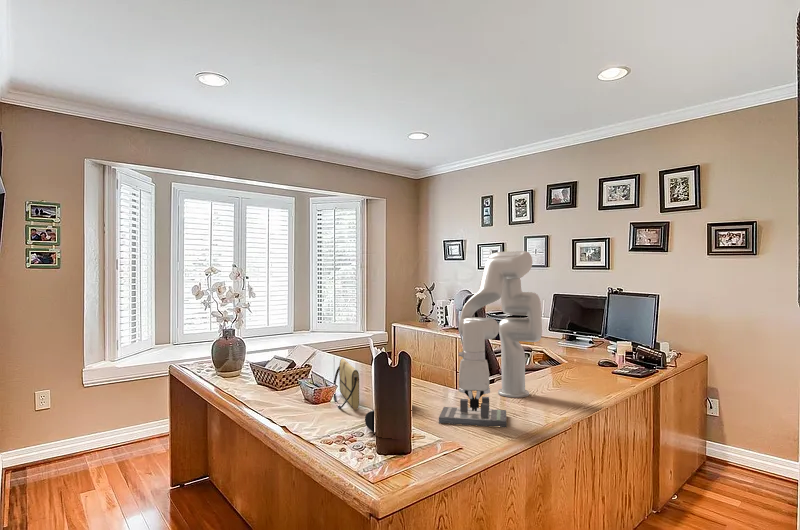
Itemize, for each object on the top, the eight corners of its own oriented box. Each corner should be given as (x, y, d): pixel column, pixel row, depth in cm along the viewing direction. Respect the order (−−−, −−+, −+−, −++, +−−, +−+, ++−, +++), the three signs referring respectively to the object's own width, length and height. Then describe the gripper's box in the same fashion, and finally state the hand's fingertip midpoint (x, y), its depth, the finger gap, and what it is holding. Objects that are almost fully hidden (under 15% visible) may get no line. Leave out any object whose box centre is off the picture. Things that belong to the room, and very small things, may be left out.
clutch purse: (329, 394, 196) (329, 358, 197) (345, 393, 198) (345, 357, 199) (342, 413, 168) (341, 371, 168) (360, 411, 170) (360, 370, 170)
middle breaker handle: (460, 410, 161) (460, 398, 161) (467, 410, 161) (467, 399, 161) (460, 412, 159) (460, 400, 159) (467, 412, 159) (467, 400, 159)
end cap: (382, 423, 156) (382, 402, 157) (400, 426, 153) (400, 405, 153) (364, 431, 148) (364, 410, 148) (383, 435, 144) (382, 413, 144)
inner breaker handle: (482, 407, 164) (482, 396, 164) (489, 408, 164) (489, 396, 164) (482, 409, 162) (481, 398, 162) (489, 410, 161) (488, 398, 162)
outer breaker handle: (481, 415, 155) (481, 403, 155) (488, 415, 155) (488, 403, 155) (480, 417, 153) (480, 404, 153) (488, 417, 153) (488, 405, 153)
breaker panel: (443, 412, 168) (443, 406, 168) (506, 415, 163) (506, 409, 163) (438, 423, 155) (438, 416, 155) (506, 427, 150) (506, 420, 151)
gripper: (450, 357, 158) (451, 411, 157) (496, 358, 154) (496, 414, 154) (453, 353, 165) (453, 405, 164) (496, 354, 162) (496, 408, 161)
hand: (474, 409), depth 159 cm, fingers closed
